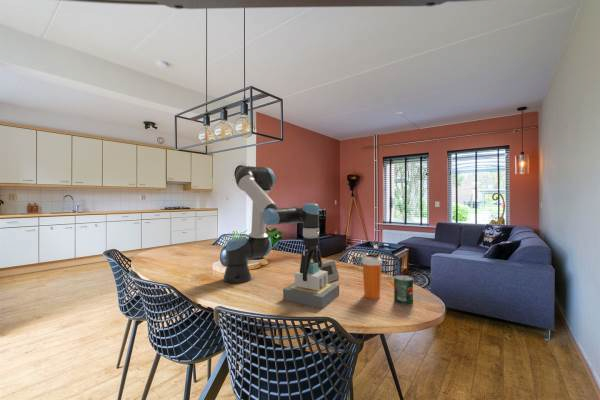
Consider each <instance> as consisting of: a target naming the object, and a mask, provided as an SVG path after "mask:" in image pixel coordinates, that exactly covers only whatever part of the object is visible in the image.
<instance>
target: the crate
mask: <svg viewBox="0 0 600 400" xmlns="http://www.w3.org/2000/svg"><path fill="white" fill-rule="evenodd" d="M317 272H318V263H314V262H313V261H310V265H309V270H308V274H315V273H317Z"/></svg>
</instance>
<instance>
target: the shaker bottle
mask: <svg viewBox="0 0 600 400" xmlns="http://www.w3.org/2000/svg"><path fill="white" fill-rule="evenodd" d="M362 255H363V257H362V259H361V263H362V273H363V296H364V297H365V298H366V299H370V300H377V299H379V298H380V296H381V279H382V278H381V277H382V264H383V261H382V259H381V257H380V254H379V253H371V252H366V253H364V254H362Z"/></svg>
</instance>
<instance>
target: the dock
mask: <svg viewBox="0 0 600 400" xmlns="http://www.w3.org/2000/svg"><path fill="white" fill-rule="evenodd" d="M339 296H340V284H337V283H332V282H330V283H328V284H327V285H324V287H320V289H319V290H313V289H308V288H302V287H297V286H295V282H294V283H292V284H290V285H288V286H286V287H284V288H282V300H283V301H287V302H291V303H295V304H299V305H303V306H308V307H313V308H317V309H320V310H323V309H324V308H326V306H328V305H329V304H331V302H333V301H334V300H335V299H336V298H338V297H339Z"/></svg>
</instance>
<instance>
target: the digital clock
mask: <svg viewBox="0 0 600 400" xmlns="http://www.w3.org/2000/svg"><path fill="white" fill-rule="evenodd" d="M319 268H320V267H319ZM320 270H322V271H328V283H332V282H335V281H337V280H340V279H339V278H340V274H339V270H338V267H337V263H336V261H335V260H334V259H331V260H326V261H323V262H322V267H321V268H320Z"/></svg>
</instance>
